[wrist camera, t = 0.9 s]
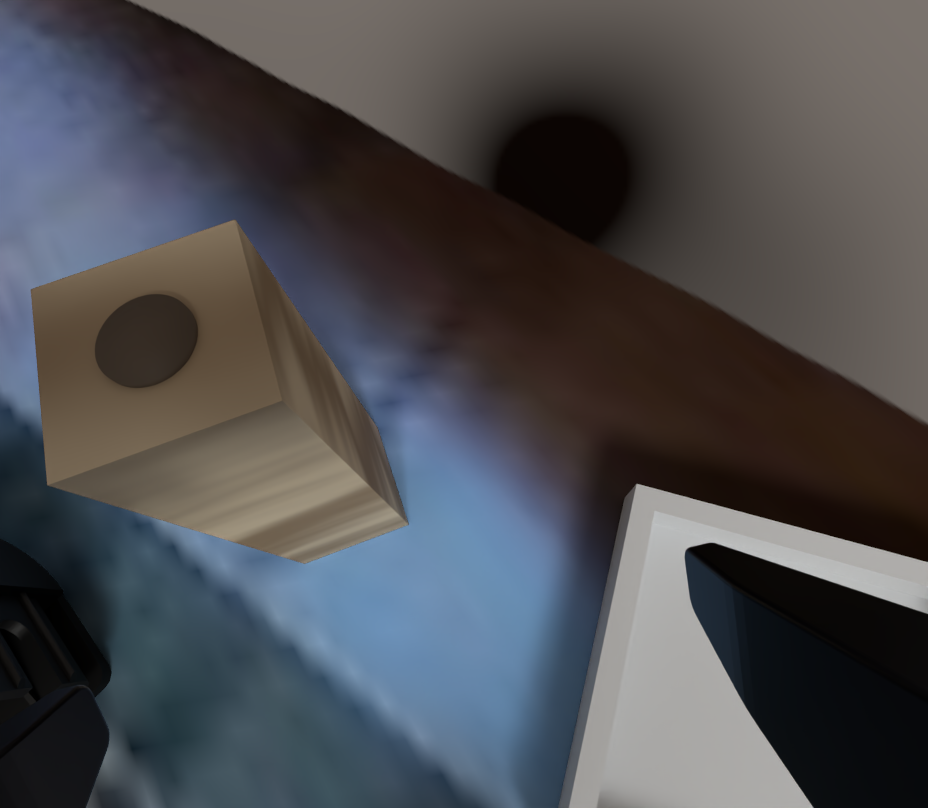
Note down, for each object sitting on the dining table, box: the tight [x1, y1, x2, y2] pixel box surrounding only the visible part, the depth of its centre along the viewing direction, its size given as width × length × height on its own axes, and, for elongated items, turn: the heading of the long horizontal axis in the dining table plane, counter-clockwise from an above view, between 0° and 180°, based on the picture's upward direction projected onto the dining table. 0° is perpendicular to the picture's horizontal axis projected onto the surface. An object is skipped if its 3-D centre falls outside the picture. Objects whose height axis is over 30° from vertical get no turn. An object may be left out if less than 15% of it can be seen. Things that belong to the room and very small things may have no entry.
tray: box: [558, 484, 928, 808], centre depth 19 cm, size 13×13×2 cm
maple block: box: [31, 220, 409, 564], centre depth 18 cm, size 4×4×14 cm
